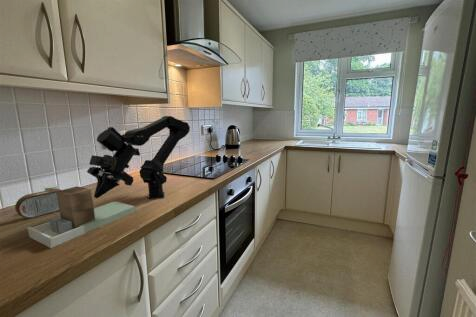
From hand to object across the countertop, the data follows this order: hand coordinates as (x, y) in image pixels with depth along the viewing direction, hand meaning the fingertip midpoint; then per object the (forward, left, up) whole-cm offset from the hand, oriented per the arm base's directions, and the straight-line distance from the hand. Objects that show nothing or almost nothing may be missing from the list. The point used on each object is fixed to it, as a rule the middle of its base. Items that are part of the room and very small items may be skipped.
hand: (95, 197), depth 79 cm
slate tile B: (+5, -9, -5) cm, 12 cm away
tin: (-12, -20, -8) cm, 25 cm away
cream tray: (+9, -9, -8) cm, 14 cm away
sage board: (-1, +1, -8) cm, 8 cm away
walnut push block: (+4, -4, -6) cm, 8 cm away
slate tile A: (+9, -5, -5) cm, 12 cm away
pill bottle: (-19, -20, -8) cm, 29 cm away
